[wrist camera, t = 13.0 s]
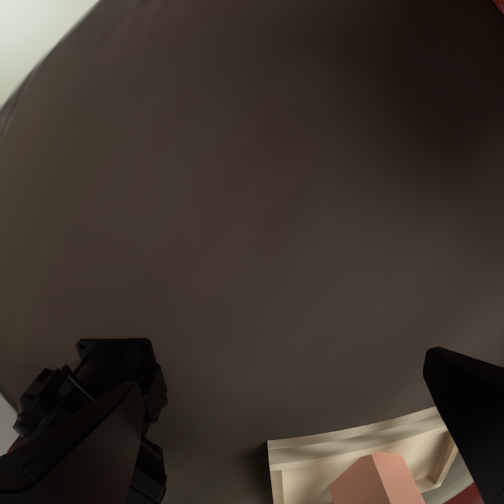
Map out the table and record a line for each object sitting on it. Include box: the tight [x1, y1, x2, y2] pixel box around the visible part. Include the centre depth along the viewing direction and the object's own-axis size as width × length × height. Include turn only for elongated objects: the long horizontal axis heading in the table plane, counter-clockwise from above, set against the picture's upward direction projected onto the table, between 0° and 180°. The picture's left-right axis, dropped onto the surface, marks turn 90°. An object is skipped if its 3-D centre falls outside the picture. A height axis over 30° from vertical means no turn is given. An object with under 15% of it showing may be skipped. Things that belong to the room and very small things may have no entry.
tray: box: [267, 406, 458, 504], centre depth 25 cm, size 20×13×3 cm, turn 96°
